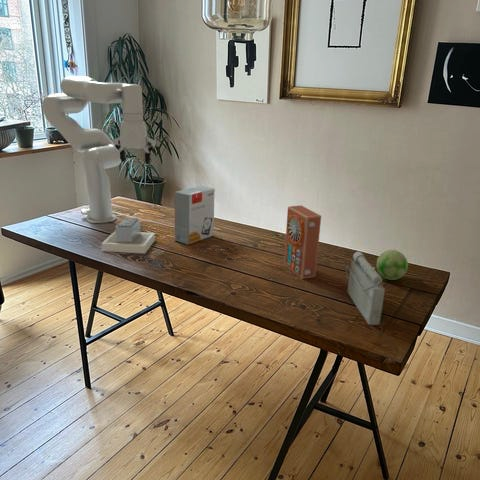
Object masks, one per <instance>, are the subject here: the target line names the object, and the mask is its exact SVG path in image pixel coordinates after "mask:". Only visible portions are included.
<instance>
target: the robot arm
mask: <svg viewBox="0 0 480 480" xmlns="http://www.w3.org/2000/svg"><path fill="white" fill-rule="evenodd" d="M60 89H61V91H62V93H52V94H48V95H46V96H45V97H44V98H43V100H42V104H41V108H42V112H43V114H44V117H45V119H46V120H47V121H48V123H49V124H50V125H51V126H52V127H53V128H54V129H55V130H57V131H58V133H60V135H61V136H62V137H63V138H64V139H65V140H66V142H67V143H68V144H69V145H70V146H71V147H72V148H73V149H74V150H75V151H76V152H78V153H82V155H81V160H82V166H83V168H84V173H85V177H86V179H85V180H86V188H87V189H86V190H87V199H88V209H87V208H82V209H80V213H81V215H86V222H88V223H92V224H106V223H111V222H114V221H115V220H117V219H116V218H117V216H116V214H115V213H113V208H112V206H113V205H112V195H111V191H112V190H111V180H110V177H109V175H108V173H107V172H106V170H107V169H111V168H116V167H118V166H119V165H121V163H125V162H126V160H127V159H126V151H125V149H143V150H144V152H145V153H144V160H145V161H144V163H145V164H148V163H150V161H151V152H152V151H153V150H154V149H155V147H156V146H157V140H154V139H153V138H150V137H149V136H148V132H147V131H148V129H147V126H146V121H144V113H143V111H144V110H143V109H144V108H143V90H142V86H141V85H140V84H135V83H126V82H98V81H97V80H96V79H95V78H91V77H90V76H87V75H69V76H65V77H64V78H62V80H60ZM89 103H96V104H97V103H98V104H107V105H110V104H121V105H122V106H121V107H122V113H121V114H119V119H122V120H121V121H120V128H119V136H118V137H116V138H114V139H111V138H110V137H109V136H108V135H107V134H106V133H105V132H104V131H103V130H101V129H99V128H84V127H82V126H81V125H80V124H79V123H78V121H77V120H76V119H74V118H72V117H71V116H68V115H70V114H78V113H81V112H83V110H85V108H86V107H87V106H88V104H89ZM118 142H119V143H118ZM149 143H150V144H151V145H150V147H149Z"/></svg>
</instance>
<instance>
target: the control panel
mask: <svg viewBox="0 0 480 480" xmlns="http://www.w3.org/2000/svg"><path fill="white" fill-rule="evenodd" d="M286 215H287V217H286V227H285V231H286V232H285V243H284V258H283V259H284V260H283V265H284V267H286V268H287V269H288V270H290V271H291V272H292V273H294V274H295V275H296V276H298V277H299V278H300V279H301V280H303V279H309V278H315V277H316V275H317V264H318V263H317V262H318V254H319V245H320V244H319V243H320V233H321V222H322V215H321V214H319V213H317V212H315V211H314V210H311V209H309V208H307V207H305V206H303V205H302V204H301V205H289V206H288V207H287V214H286Z"/></svg>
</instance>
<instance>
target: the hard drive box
mask: <svg viewBox="0 0 480 480" xmlns="http://www.w3.org/2000/svg"><path fill="white" fill-rule="evenodd" d="M173 199H174V241H175V242H179V243H181V244H184V245H187V246H188V245H192V244H194V243H197V242H199V241H203V240H205V239H207V238H208V239H209V238H210V237H213V236H214V230H215V228H214V227H215V225H214V224H215V188H213V187H209V186H204V185H200V186H195V187H189V188H186V189H182V190H177V191H174V198H173Z"/></svg>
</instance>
